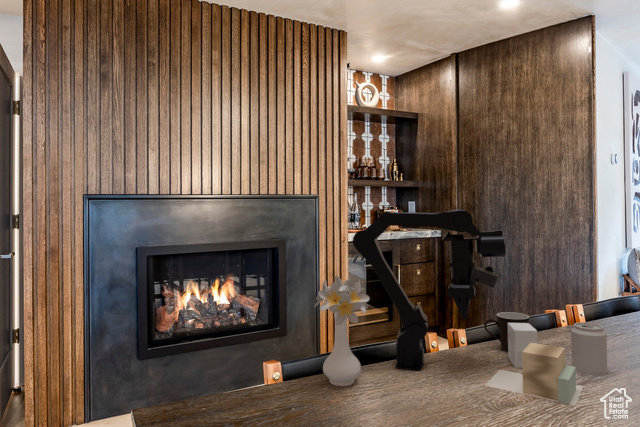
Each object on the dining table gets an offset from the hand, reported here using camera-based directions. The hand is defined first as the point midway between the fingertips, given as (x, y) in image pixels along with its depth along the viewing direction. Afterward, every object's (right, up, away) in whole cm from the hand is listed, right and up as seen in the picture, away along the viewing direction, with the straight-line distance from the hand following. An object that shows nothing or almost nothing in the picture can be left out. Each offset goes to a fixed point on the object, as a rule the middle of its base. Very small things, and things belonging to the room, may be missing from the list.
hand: (465, 318), depth 113 cm
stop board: (+16, -12, -19) cm, 27 cm away
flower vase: (-31, -14, -7) cm, 35 cm away
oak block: (+12, -12, -16) cm, 24 cm away
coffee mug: (+18, -13, +15) cm, 27 cm away
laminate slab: (+11, -13, -14) cm, 22 cm away
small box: (+15, -13, +1) cm, 20 cm away
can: (+29, -13, -4) cm, 32 cm away
